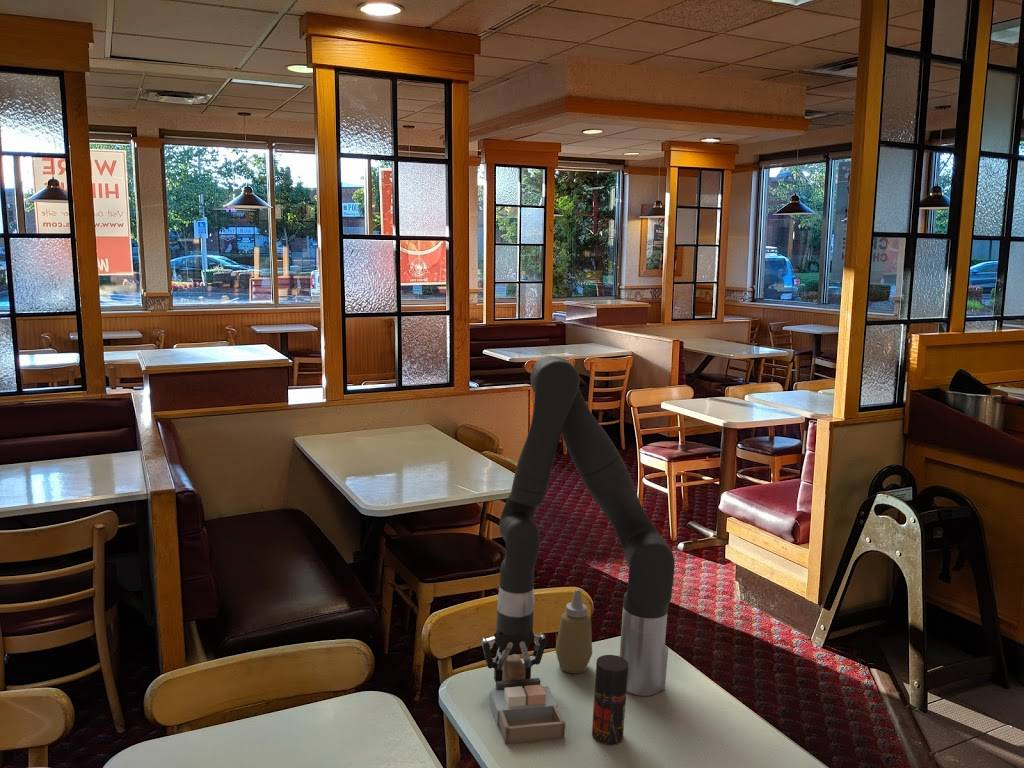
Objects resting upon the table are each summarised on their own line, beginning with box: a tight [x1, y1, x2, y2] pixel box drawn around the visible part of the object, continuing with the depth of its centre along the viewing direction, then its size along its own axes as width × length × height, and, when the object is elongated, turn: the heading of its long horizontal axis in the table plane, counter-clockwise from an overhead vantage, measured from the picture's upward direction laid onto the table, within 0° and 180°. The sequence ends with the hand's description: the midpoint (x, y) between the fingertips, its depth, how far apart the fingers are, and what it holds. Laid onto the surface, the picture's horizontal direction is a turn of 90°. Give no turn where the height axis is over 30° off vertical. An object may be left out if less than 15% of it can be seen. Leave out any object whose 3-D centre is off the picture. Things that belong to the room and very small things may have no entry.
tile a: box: [524, 684, 546, 705], centre depth 159 cm, size 4×4×2 cm
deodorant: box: [591, 654, 628, 746], centre depth 152 cm, size 6×6×15 cm
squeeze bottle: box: [555, 589, 593, 674], centre depth 176 cm, size 8×8×18 cm
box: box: [498, 706, 566, 745], centre depth 153 cm, size 11×6×3 cm, turn 103°
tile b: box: [504, 686, 526, 707], centre depth 158 cm, size 4×4×2 cm
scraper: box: [495, 654, 541, 691], centre depth 168 cm, size 9×10×6 cm
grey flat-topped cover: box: [489, 685, 559, 726], centre depth 159 cm, size 12×7×3 cm, turn 103°
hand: (511, 682), depth 169 cm, fingers open, 5 cm apart
